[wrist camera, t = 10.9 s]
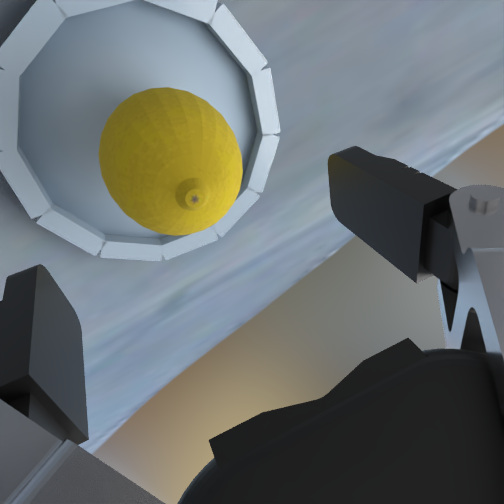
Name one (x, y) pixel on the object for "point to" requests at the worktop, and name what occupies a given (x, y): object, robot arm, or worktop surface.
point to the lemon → (170, 161)
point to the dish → (110, 96)
